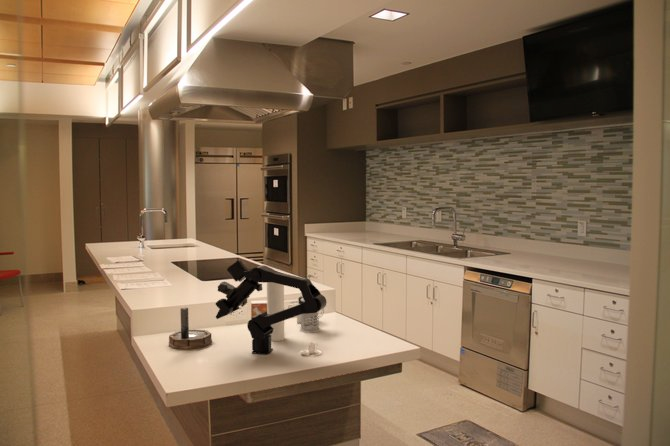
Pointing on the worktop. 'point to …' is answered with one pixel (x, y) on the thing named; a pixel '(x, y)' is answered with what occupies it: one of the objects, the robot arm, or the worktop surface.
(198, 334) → the dial
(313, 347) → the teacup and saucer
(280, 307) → the cylindrical container
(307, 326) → the french press
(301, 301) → the medicine bottle
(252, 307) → the small box
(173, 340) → the dial housing
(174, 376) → the worktop surface
